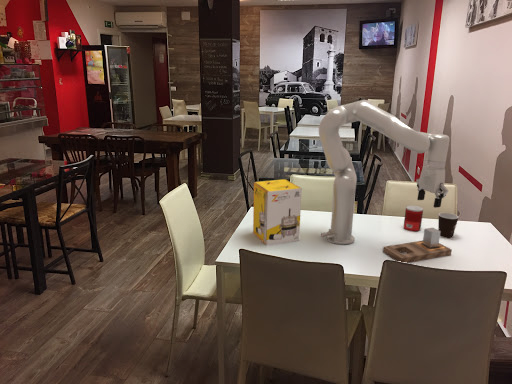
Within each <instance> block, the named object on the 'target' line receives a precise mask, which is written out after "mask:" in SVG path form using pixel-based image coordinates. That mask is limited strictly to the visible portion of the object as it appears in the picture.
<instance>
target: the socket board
mask: <svg viewBox="0 0 512 384" xmlns="http://www.w3.org/2000/svg"><path fill="white" fill-rule="evenodd" d="M422 244H423V239H422V240H415V241H411V242H406V243H405V242H404V243H399V244H393V245H386V246H382V247H383V248H382V249H383V250H382V253H384V254H385V255H386V256H388V255H389V256H388V257H390V258H392V259H393V260H394V261H396V260H397V261H396V262H398V261H401V262H407V263H406V264H409V263H416V262H420V261H424V260H431V259H436V258H437V259H438V258H442V257H447V256H452V250H453V249H452V248H451V247H448V246H446V245H444V244H442V243H440V242H439V245H438V248H435V249H429V248H427V247H425V246H423V245H422Z"/></svg>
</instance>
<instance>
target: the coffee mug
mask: <svg viewBox="0 0 512 384" xmlns="http://www.w3.org/2000/svg"><path fill="white" fill-rule="evenodd" d="M458 221H459V216H458V215H457V214H455V213H451V212H439V213H438V225H437V226H438V228H437V230H439V231H441V232H440V237H441V238H445V239H452V238H453V237H454V234H455V231H456V228H457V224H458Z"/></svg>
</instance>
